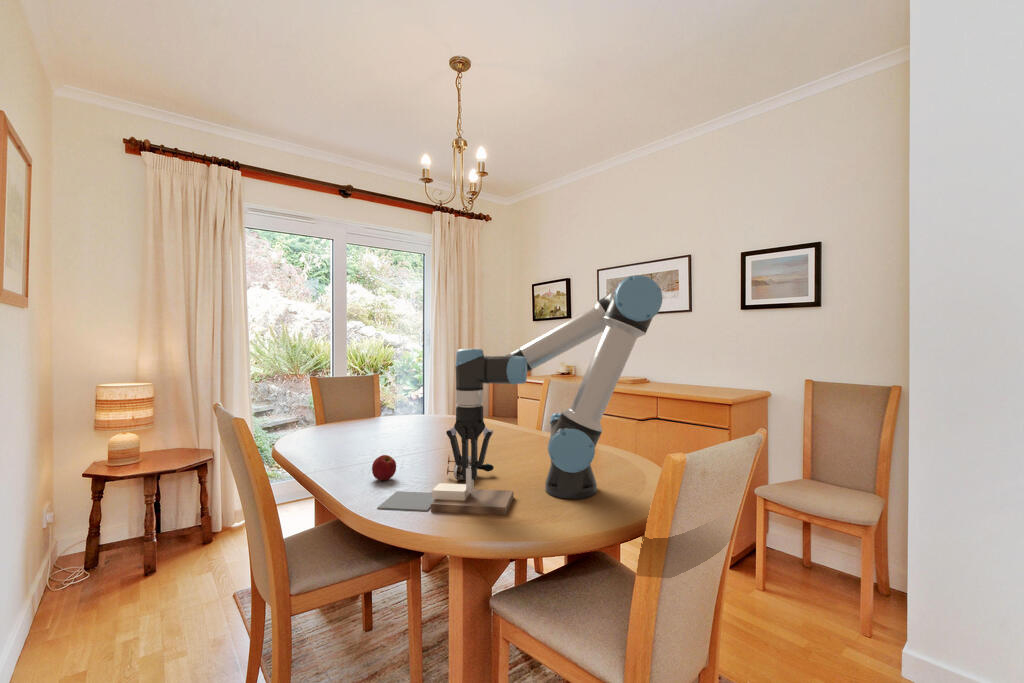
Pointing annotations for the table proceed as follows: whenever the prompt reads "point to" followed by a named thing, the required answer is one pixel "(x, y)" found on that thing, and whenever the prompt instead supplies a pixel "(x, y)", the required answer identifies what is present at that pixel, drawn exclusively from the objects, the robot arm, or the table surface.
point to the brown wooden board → (477, 503)
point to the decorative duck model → (458, 468)
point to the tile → (450, 492)
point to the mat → (408, 501)
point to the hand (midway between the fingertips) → (469, 490)
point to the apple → (384, 467)
